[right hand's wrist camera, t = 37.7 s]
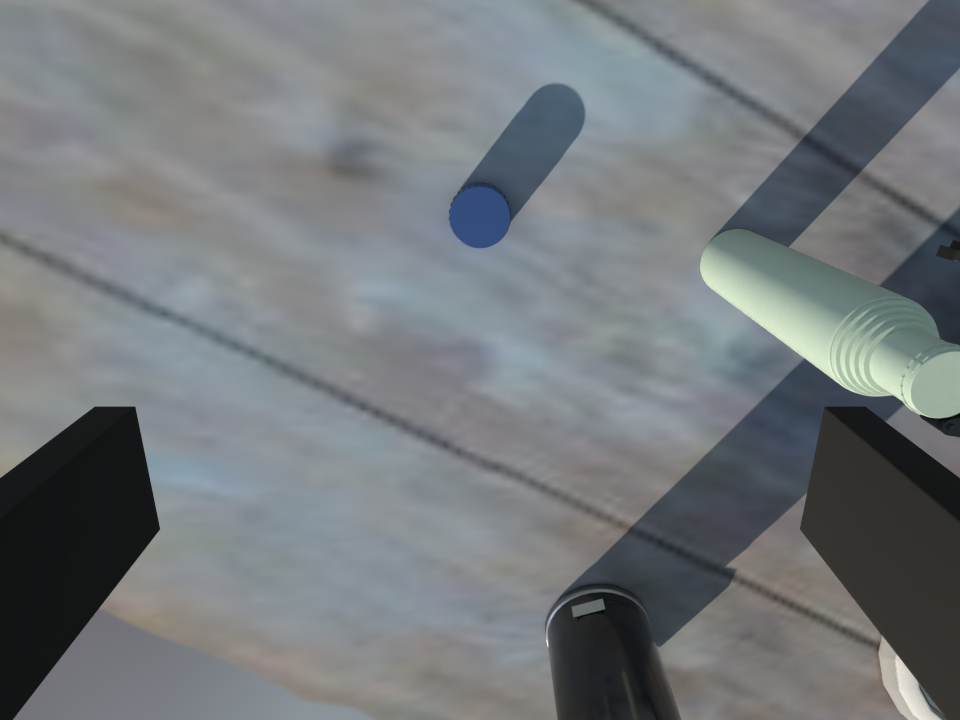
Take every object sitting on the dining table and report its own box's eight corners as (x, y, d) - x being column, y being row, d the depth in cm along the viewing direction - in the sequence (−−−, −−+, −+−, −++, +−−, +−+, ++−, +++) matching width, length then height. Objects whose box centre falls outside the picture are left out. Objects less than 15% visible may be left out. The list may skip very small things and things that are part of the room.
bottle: (780, 248, 48) (1037, 362, 26) (740, 304, 49) (951, 458, 27) (725, 216, 47) (943, 305, 25) (686, 275, 48) (859, 408, 26)
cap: (438, 222, 47) (436, 227, 45) (470, 170, 46) (470, 172, 43) (488, 254, 48) (489, 260, 45) (521, 203, 46) (523, 208, 44)
